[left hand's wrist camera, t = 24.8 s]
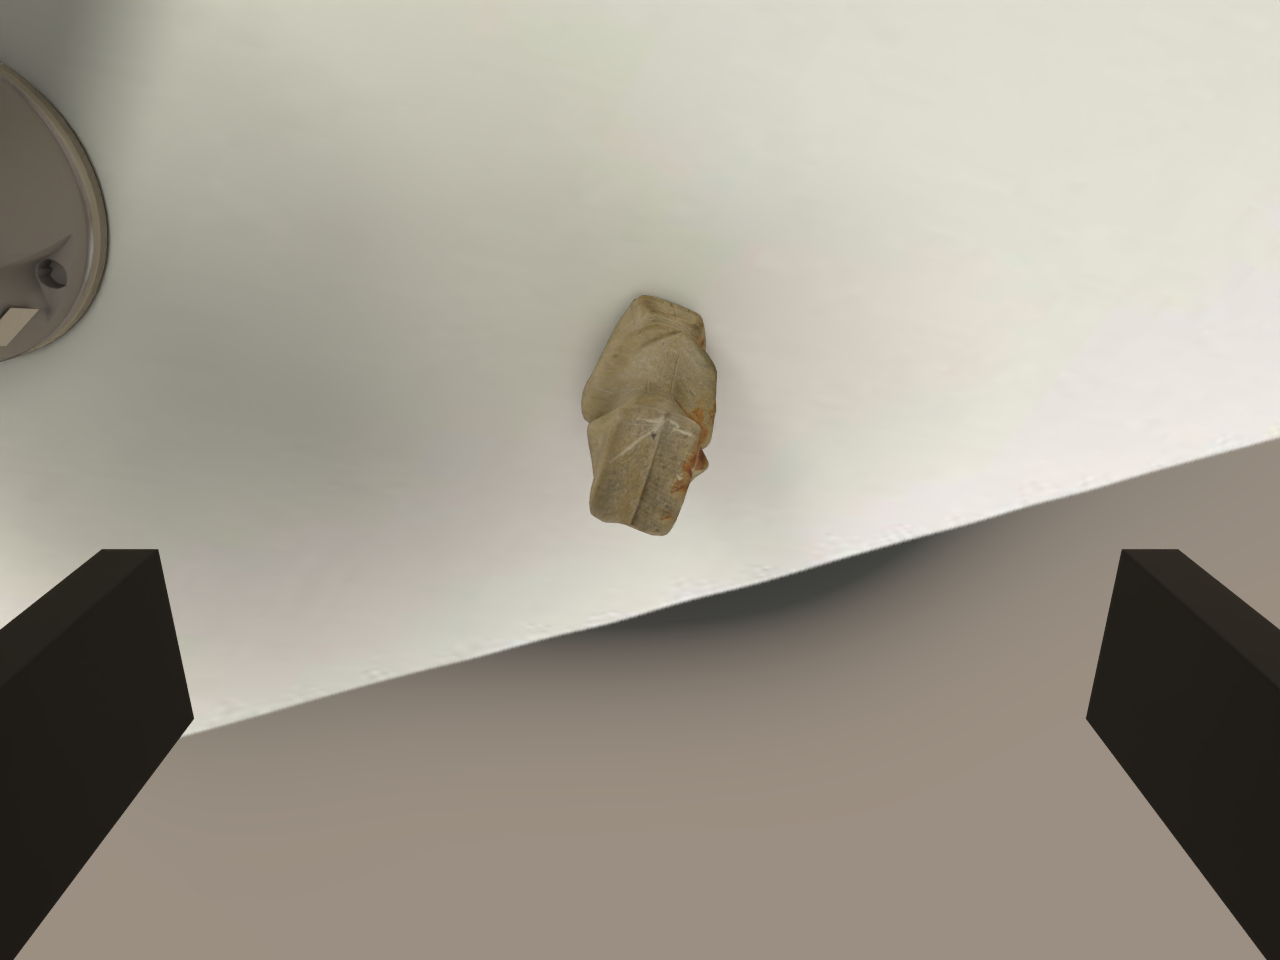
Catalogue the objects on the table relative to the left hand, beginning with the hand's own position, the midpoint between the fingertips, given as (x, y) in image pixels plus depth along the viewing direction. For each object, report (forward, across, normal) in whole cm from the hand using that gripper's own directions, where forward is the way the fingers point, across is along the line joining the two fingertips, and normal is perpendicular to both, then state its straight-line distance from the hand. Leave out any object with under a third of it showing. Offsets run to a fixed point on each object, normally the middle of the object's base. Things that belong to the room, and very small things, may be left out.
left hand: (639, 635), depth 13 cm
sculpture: (+36, 0, +5) cm, 36 cm away
